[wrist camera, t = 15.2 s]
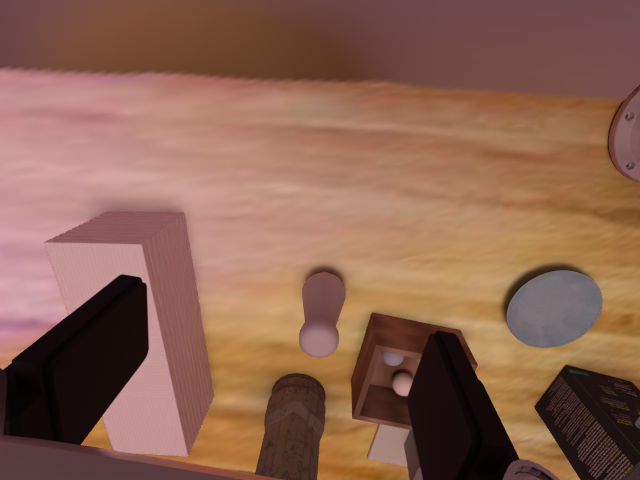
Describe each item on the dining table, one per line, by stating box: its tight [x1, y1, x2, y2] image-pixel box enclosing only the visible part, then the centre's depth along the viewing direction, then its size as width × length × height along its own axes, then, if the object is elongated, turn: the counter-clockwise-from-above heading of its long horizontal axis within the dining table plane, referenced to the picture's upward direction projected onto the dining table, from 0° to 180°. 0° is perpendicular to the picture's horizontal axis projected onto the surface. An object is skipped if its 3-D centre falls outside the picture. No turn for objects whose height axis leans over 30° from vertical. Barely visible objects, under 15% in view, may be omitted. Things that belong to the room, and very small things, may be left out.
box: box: [351, 313, 478, 430], centre depth 49 cm, size 13×13×7 cm
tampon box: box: [535, 366, 640, 480], centre depth 46 cm, size 11×9×15 cm
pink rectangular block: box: [44, 212, 214, 456], centre depth 47 cm, size 32×11×11 cm, turn 0°
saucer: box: [506, 270, 603, 348], centre depth 46 cm, size 12×12×2 cm
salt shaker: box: [299, 271, 345, 358], centre depth 42 cm, size 6×6×13 cm
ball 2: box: [392, 373, 413, 396], centre depth 51 cm, size 3×3×3 cm
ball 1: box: [381, 351, 404, 366], centre depth 49 cm, size 3×3×3 cm
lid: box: [367, 424, 423, 480], centre depth 55 cm, size 14×14×8 cm
